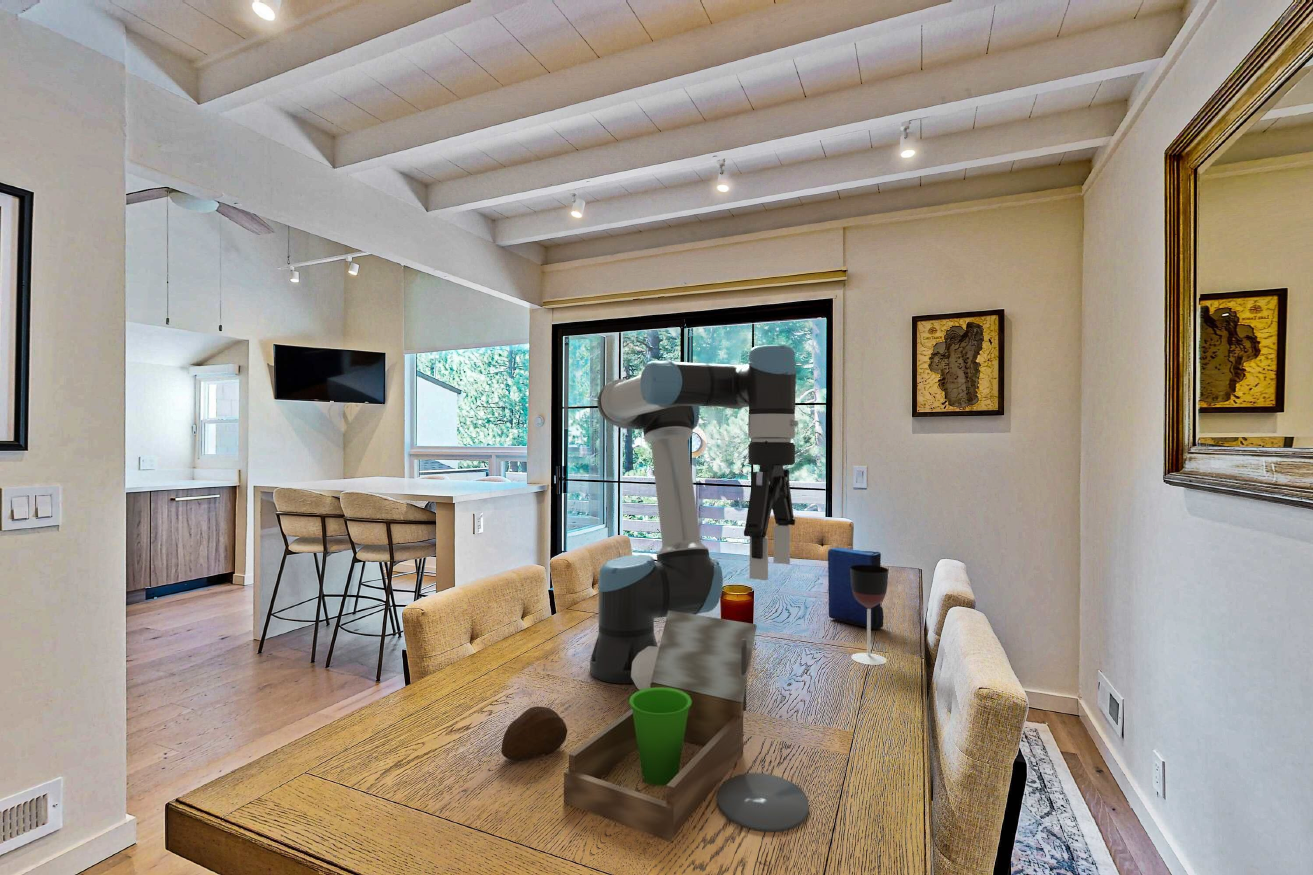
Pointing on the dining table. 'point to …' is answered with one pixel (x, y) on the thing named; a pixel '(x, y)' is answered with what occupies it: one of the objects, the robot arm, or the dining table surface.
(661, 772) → the cup
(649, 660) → the beige half-round piece
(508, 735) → the potato
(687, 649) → the cold frame
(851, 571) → the wineglass
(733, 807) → the gray round coaster
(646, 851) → the dining table surface
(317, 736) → the dining table surface
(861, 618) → the book
